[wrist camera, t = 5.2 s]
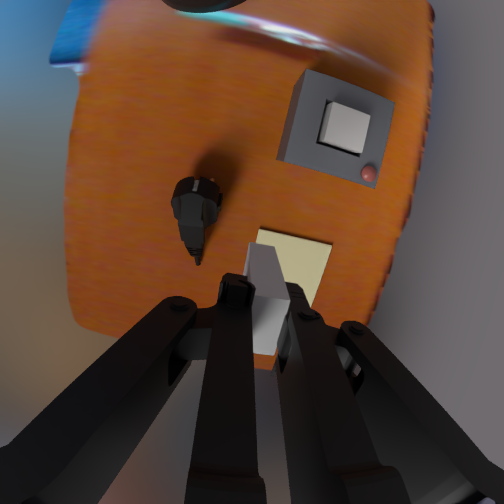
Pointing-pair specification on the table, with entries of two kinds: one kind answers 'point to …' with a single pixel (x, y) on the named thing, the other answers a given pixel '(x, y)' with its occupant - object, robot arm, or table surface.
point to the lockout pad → (298, 259)
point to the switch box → (309, 119)
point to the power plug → (196, 211)
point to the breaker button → (343, 128)
